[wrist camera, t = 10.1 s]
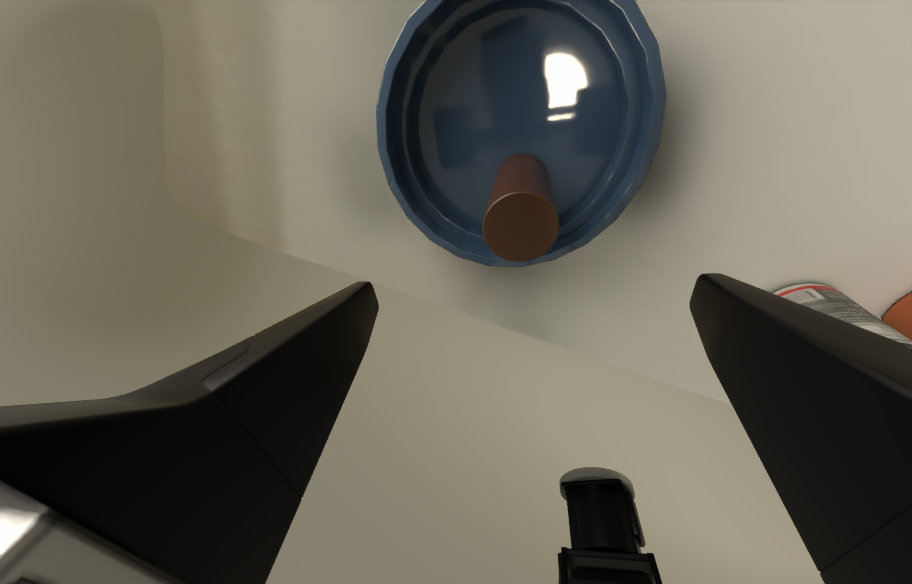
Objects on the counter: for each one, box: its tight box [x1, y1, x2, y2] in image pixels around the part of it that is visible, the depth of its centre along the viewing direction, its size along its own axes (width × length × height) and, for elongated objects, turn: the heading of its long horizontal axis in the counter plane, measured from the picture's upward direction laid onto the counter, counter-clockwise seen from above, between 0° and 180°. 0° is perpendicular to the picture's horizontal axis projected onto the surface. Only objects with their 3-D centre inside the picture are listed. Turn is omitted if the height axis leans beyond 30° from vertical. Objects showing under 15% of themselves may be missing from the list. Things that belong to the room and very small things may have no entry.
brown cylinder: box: [482, 153, 559, 262], centre depth 16 cm, size 3×3×7 cm
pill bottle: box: [773, 283, 912, 348], centre depth 17 cm, size 5×5×8 cm
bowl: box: [376, 0, 666, 267], centre depth 16 cm, size 13×13×3 cm
